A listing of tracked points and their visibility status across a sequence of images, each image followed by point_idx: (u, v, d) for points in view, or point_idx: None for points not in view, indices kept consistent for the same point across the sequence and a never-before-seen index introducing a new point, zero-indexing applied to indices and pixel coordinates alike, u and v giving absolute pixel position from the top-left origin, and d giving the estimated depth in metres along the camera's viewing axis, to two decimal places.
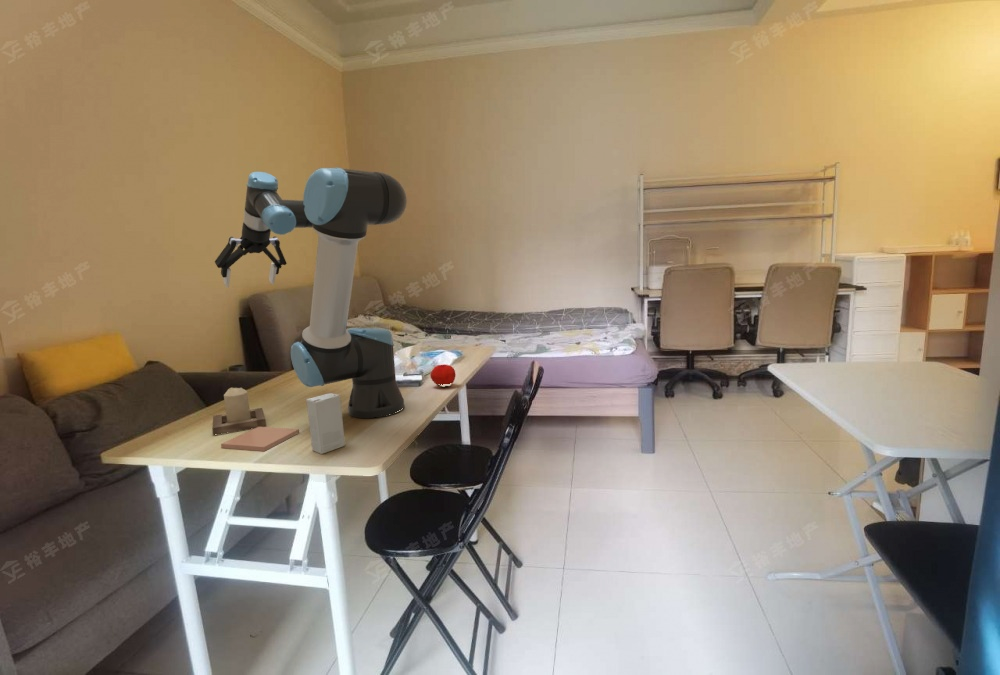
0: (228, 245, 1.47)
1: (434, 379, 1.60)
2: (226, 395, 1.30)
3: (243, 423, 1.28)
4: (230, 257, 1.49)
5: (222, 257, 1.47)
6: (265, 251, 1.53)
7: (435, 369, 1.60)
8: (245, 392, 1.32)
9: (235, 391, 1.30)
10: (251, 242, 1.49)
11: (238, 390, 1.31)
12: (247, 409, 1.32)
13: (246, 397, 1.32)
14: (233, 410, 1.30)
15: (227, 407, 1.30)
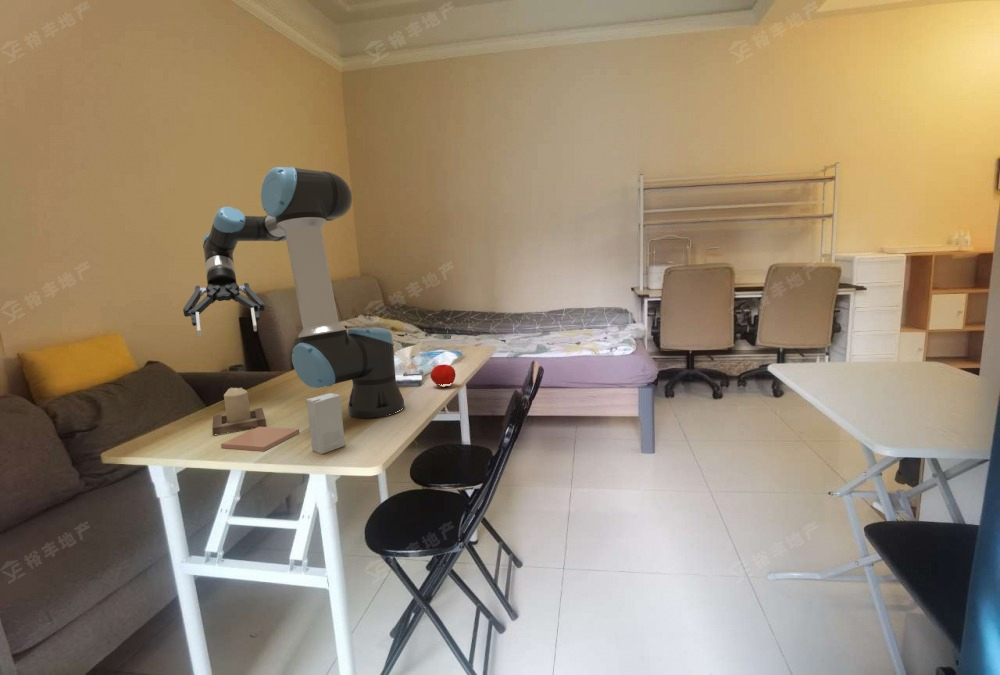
0: None
1: (434, 379, 1.60)
2: (226, 395, 1.30)
3: (243, 423, 1.28)
4: None
5: None
6: (233, 291, 1.45)
7: (435, 369, 1.60)
8: (245, 392, 1.32)
9: (235, 391, 1.30)
10: None
11: (238, 390, 1.31)
12: (247, 409, 1.32)
13: (246, 397, 1.32)
14: (233, 410, 1.30)
15: (227, 407, 1.30)
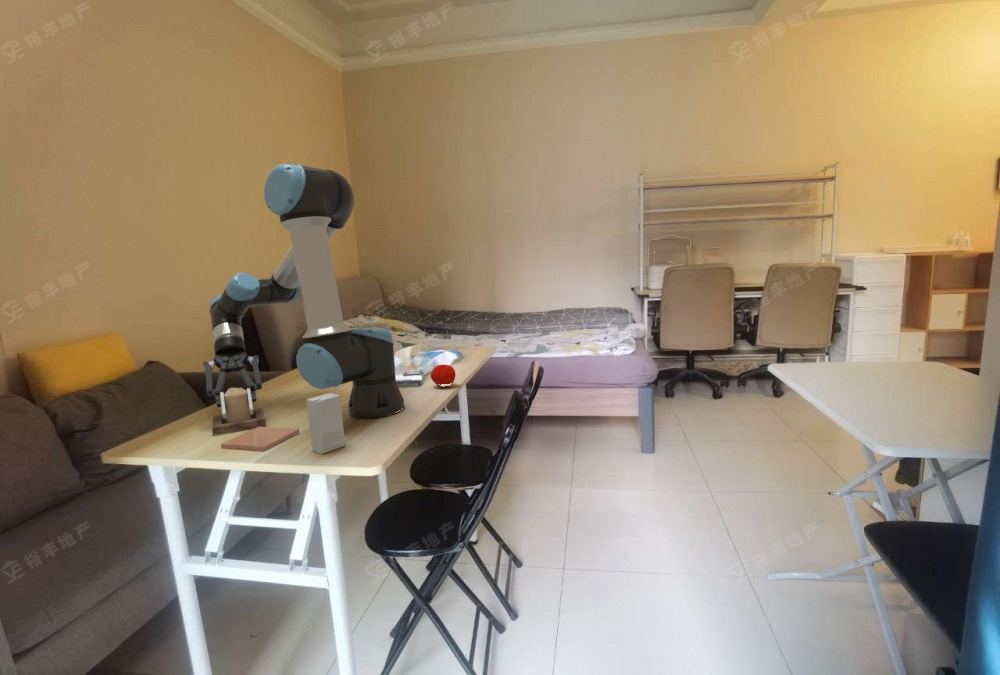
0: None
1: (434, 379, 1.60)
2: (226, 395, 1.30)
3: (243, 423, 1.28)
4: None
5: None
6: (239, 363, 1.36)
7: (435, 369, 1.60)
8: (245, 391, 1.32)
9: (235, 391, 1.30)
10: (223, 357, 1.37)
11: (238, 390, 1.31)
12: (247, 409, 1.32)
13: (246, 397, 1.32)
14: (233, 410, 1.30)
15: (227, 407, 1.30)
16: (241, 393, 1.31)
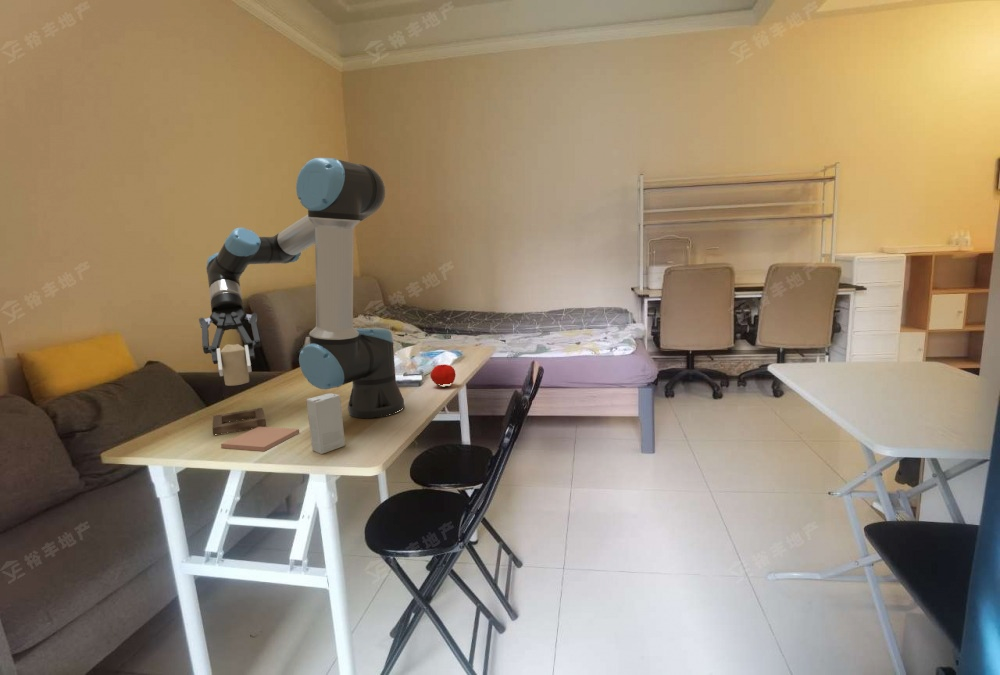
0: None
1: (434, 379, 1.60)
2: (223, 351, 1.24)
3: (243, 423, 1.28)
4: None
5: (202, 338, 1.25)
6: (237, 320, 1.30)
7: (435, 369, 1.60)
8: (243, 348, 1.26)
9: (232, 347, 1.24)
10: (220, 314, 1.31)
11: (235, 346, 1.25)
12: (245, 366, 1.26)
13: (244, 354, 1.26)
14: (230, 367, 1.24)
15: (224, 364, 1.24)
16: (238, 349, 1.25)
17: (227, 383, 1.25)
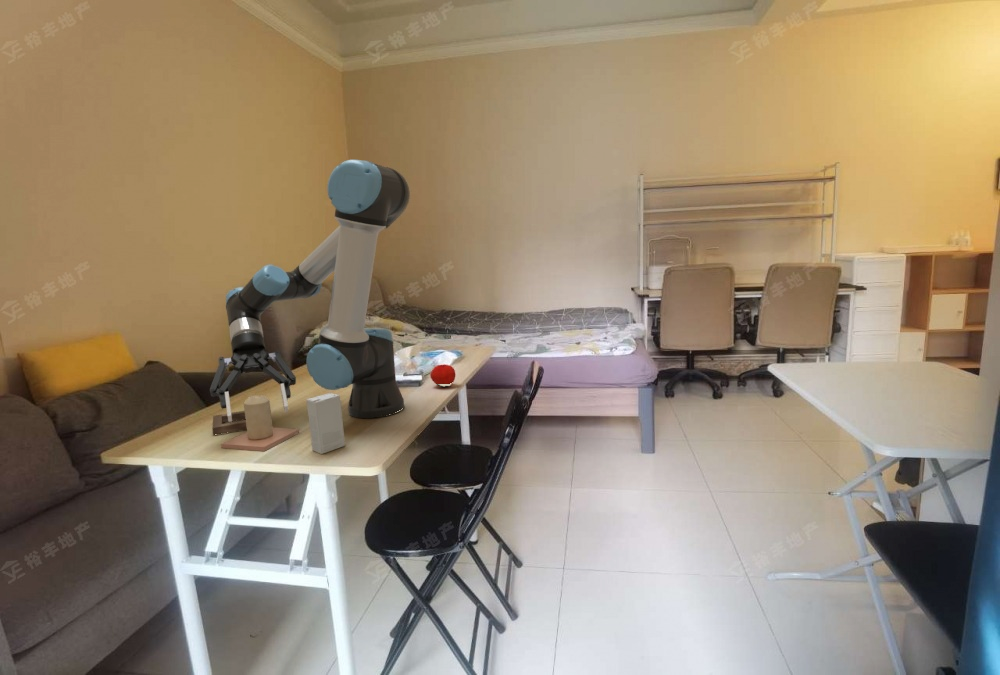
0: None
1: (434, 379, 1.60)
2: (247, 403, 1.17)
3: (243, 423, 1.28)
4: None
5: None
6: (262, 361, 1.24)
7: (435, 369, 1.60)
8: (268, 399, 1.19)
9: (257, 399, 1.17)
10: (242, 355, 1.24)
11: (260, 398, 1.18)
12: (269, 419, 1.19)
13: (268, 405, 1.19)
14: (254, 420, 1.17)
15: (247, 417, 1.17)
16: (263, 401, 1.18)
17: (250, 437, 1.18)
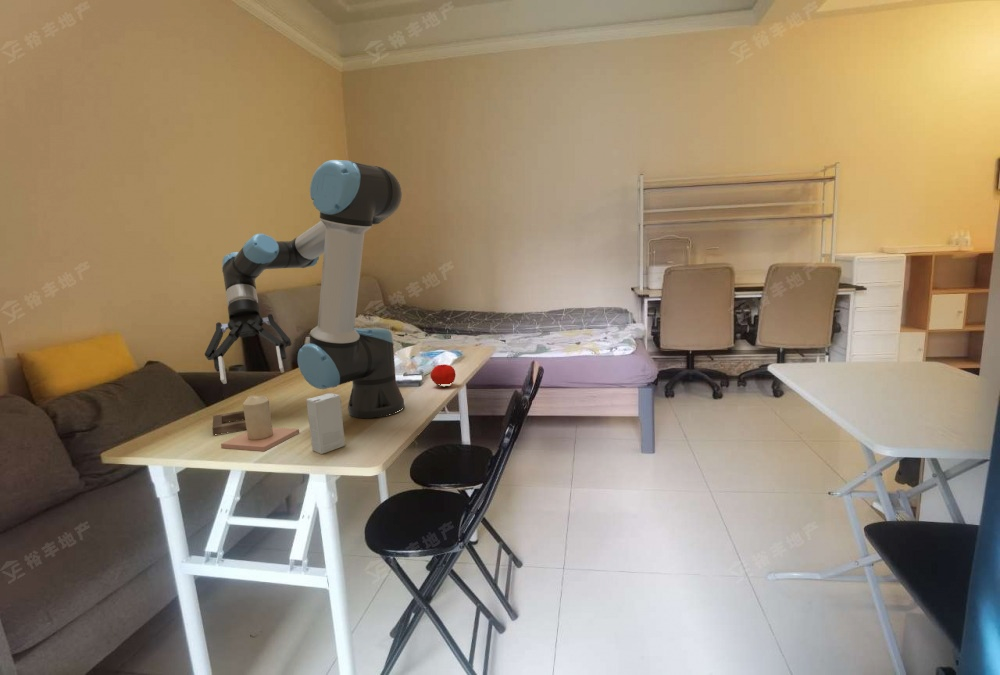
0: None
1: (434, 379, 1.60)
2: (246, 404, 1.17)
3: (243, 423, 1.28)
4: None
5: None
6: (257, 326, 1.32)
7: (435, 369, 1.60)
8: (267, 399, 1.19)
9: (256, 399, 1.17)
10: (238, 321, 1.33)
11: (259, 398, 1.18)
12: (269, 419, 1.19)
13: (268, 406, 1.19)
14: (254, 420, 1.17)
15: (247, 417, 1.17)
16: (262, 401, 1.18)
17: (250, 437, 1.18)
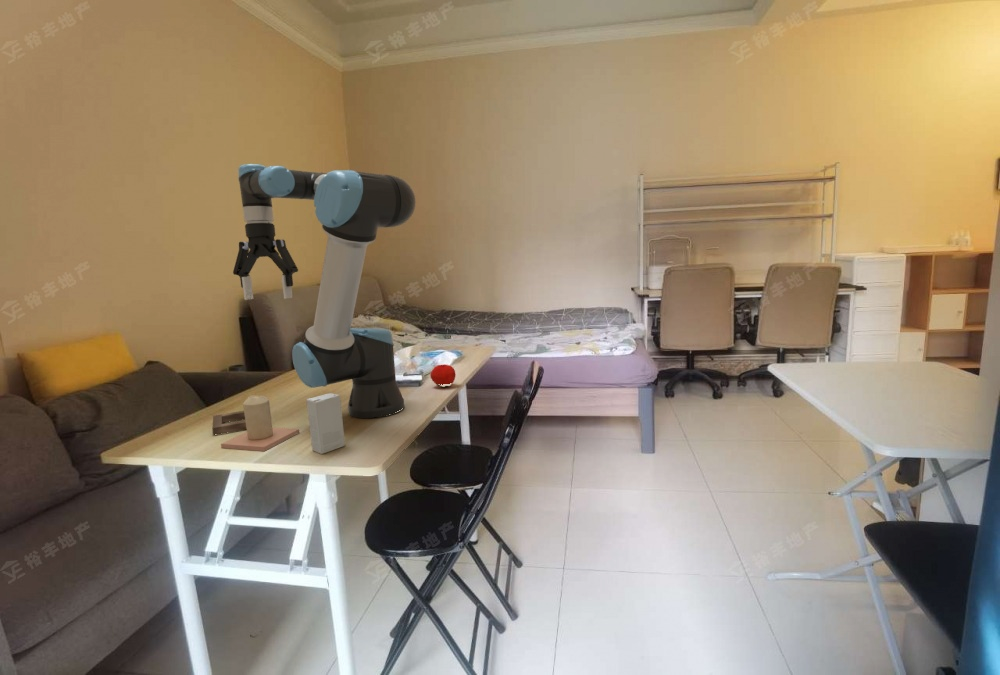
0: None
1: (434, 379, 1.60)
2: (246, 404, 1.17)
3: (243, 423, 1.28)
4: None
5: None
6: (266, 252, 1.40)
7: (435, 369, 1.60)
8: (267, 400, 1.19)
9: (256, 399, 1.17)
10: (254, 242, 1.41)
11: (259, 398, 1.18)
12: (269, 419, 1.19)
13: (268, 406, 1.19)
14: (254, 420, 1.17)
15: (247, 417, 1.17)
16: (263, 401, 1.18)
17: (250, 437, 1.18)
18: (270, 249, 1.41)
